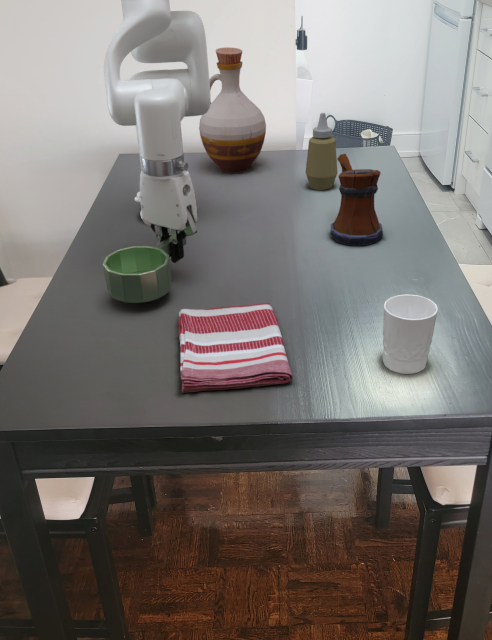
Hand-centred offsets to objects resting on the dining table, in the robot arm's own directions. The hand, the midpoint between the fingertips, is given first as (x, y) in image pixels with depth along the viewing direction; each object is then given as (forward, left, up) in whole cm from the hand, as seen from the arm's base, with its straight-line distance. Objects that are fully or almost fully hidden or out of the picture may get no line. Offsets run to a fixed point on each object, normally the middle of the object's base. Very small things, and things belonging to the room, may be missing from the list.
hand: (173, 258), depth 133 cm
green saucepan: (0, -6, -2) cm, 6 cm away
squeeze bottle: (+1, +59, -4) cm, 59 cm away
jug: (-27, +62, -4) cm, 68 cm away
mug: (+20, +37, -4) cm, 43 cm away
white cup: (+50, -7, -4) cm, 51 cm away
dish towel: (+24, -17, -4) cm, 30 cm away
